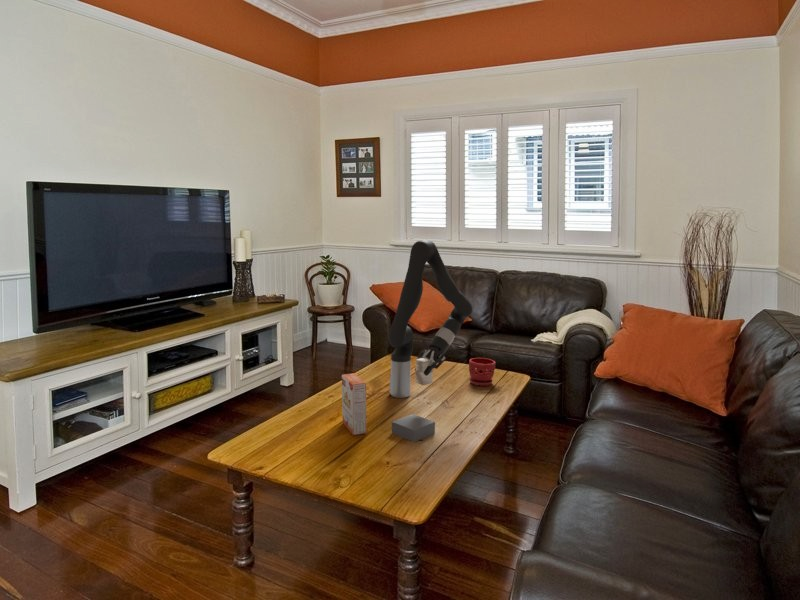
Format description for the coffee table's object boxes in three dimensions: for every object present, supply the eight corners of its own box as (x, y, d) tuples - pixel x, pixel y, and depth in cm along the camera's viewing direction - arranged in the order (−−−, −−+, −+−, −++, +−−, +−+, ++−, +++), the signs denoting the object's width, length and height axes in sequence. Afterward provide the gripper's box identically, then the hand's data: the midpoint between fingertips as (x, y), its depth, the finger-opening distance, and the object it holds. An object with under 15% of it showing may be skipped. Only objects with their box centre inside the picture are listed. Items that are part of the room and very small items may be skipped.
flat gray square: (391, 433, 215) (391, 421, 214) (412, 425, 223) (412, 413, 222) (414, 442, 206) (414, 430, 205) (434, 433, 215) (435, 421, 214)
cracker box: (341, 423, 224) (341, 374, 220) (355, 421, 226) (355, 372, 223) (352, 436, 211) (351, 384, 208) (366, 433, 213) (366, 382, 210)
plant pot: (488, 389, 268) (489, 365, 266) (464, 384, 275) (464, 361, 273) (498, 382, 279) (499, 359, 277) (475, 377, 286) (475, 355, 284)
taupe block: (415, 382, 228) (415, 359, 227) (424, 380, 231) (424, 357, 230) (423, 385, 224) (423, 362, 223) (432, 383, 228) (432, 359, 226)
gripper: (426, 332, 235) (404, 364, 229) (449, 338, 224) (427, 372, 218) (435, 342, 239) (414, 373, 233) (458, 349, 228) (437, 382, 222)
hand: (420, 372), depth 226 cm, fingers closed on taupe block, 5 cm apart
